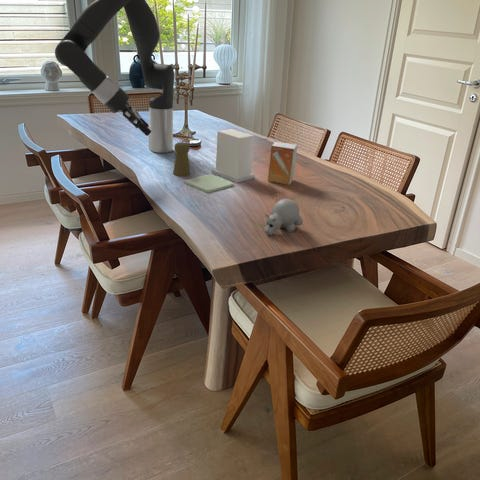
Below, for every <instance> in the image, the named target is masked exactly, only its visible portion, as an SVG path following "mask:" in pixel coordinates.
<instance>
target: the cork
mask: <svg viewBox="0 0 480 480" xmlns="http://www.w3.org/2000/svg"><path fill="white" fill-rule="evenodd" d="M173 147H174V148H173V149H174V151H175V158H174V165H173V175H174V176H177V177H188V176H190V175H191V170H190V169H191V168H190V159H189V152H190V145H189V144H188V143H186V142H183V141H182V142H177V143H175V145H174V146H173Z"/></svg>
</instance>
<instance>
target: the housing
mask: <svg viewBox="0 0 480 480" xmlns="http://www.w3.org/2000/svg"><path fill="white" fill-rule="evenodd" d="M216 133H217V134H216V135H217V137H216V155H215V156H216V159H215V160H216V161H215V168H212V169H211V174H213V175H215V176H216V175H217V176H218V177H220V178H221V177H222V178H223V179H225V180H229V181H230V182H231V181H232V182H234V183H237V184H238V183H240V182H245V181H248V180H252V179H255V176H256V175H255V174H254V173H252V170H253V169H252V168H253V167H252V166H253V156H254V155H253V154H254V142H255V135H253V134H251V133H248V132H247V133H246V132H244V131H240V130H237V129H234V128H230V129H229V128H228V129H222V130H217V131H216Z"/></svg>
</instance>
